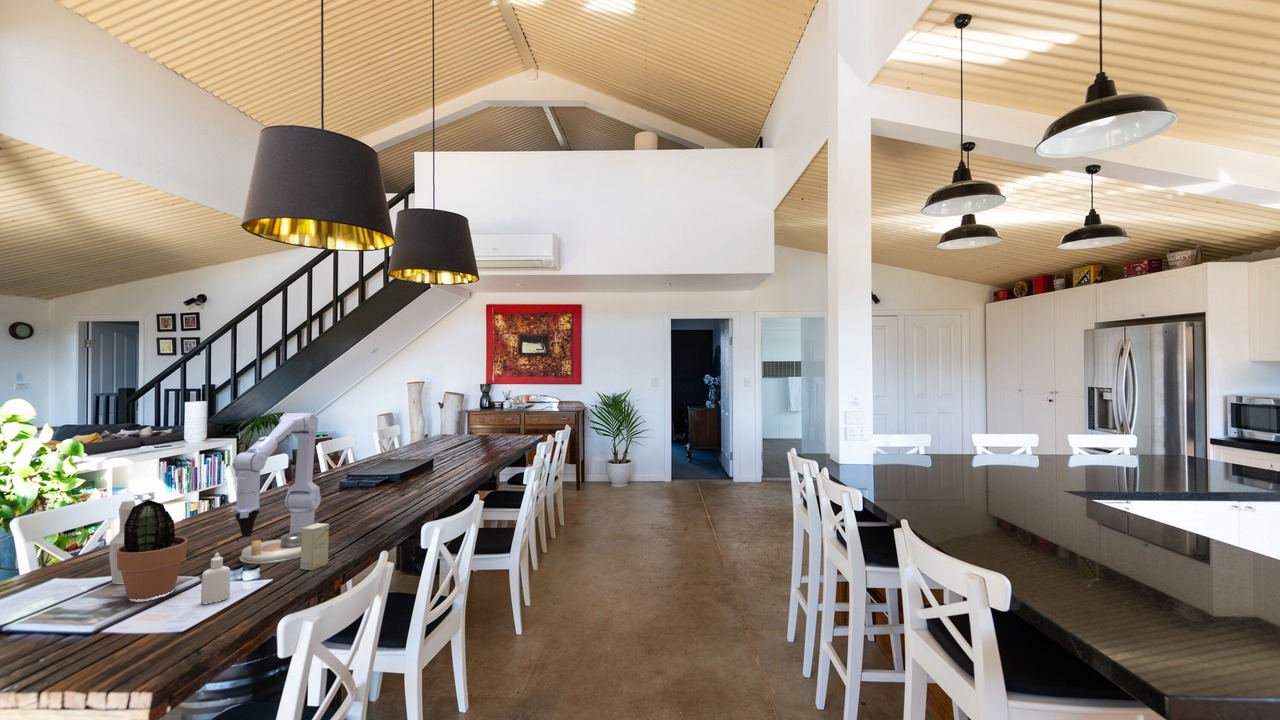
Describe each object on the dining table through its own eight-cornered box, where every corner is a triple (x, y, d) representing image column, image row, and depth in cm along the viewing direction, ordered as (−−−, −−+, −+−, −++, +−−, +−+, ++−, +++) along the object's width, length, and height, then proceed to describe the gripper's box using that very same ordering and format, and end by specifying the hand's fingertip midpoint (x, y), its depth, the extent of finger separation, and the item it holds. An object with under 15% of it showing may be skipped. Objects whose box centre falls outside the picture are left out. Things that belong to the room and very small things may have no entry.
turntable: (226, 558, 166) (227, 540, 167) (276, 541, 184) (276, 524, 184) (276, 563, 163) (277, 545, 163) (322, 545, 181) (323, 528, 181)
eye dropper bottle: (205, 598, 139) (207, 551, 140) (231, 596, 141) (233, 549, 141) (198, 605, 135) (200, 556, 135) (225, 602, 137) (227, 554, 137)
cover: (274, 547, 173) (275, 537, 173) (292, 540, 180) (293, 531, 180) (293, 549, 172) (294, 539, 172) (311, 542, 179) (311, 533, 179)
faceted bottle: (120, 587, 146) (124, 504, 146) (102, 584, 147) (105, 502, 147) (146, 578, 152) (149, 499, 152) (128, 576, 153) (131, 497, 154)
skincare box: (312, 570, 160) (313, 529, 160) (299, 569, 161) (300, 528, 161) (328, 563, 166) (329, 523, 166) (316, 562, 167) (317, 522, 167)
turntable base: (244, 549, 177) (244, 547, 177) (312, 541, 187) (312, 540, 187) (234, 568, 161) (234, 566, 161) (309, 558, 170) (309, 556, 170)
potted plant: (194, 592, 143) (198, 496, 144) (126, 611, 131) (130, 507, 132) (172, 581, 150) (176, 490, 151) (105, 598, 138) (110, 499, 139)
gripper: (236, 488, 171) (234, 531, 171) (227, 497, 159) (226, 544, 158) (263, 486, 175) (261, 528, 175) (257, 495, 162) (255, 541, 162)
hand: (246, 536), depth 167 cm, fingers closed
